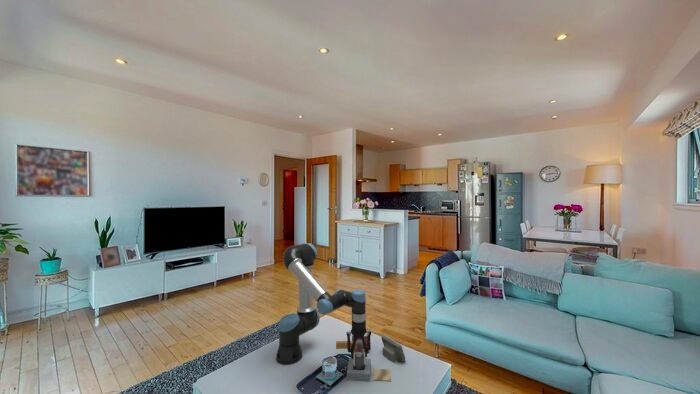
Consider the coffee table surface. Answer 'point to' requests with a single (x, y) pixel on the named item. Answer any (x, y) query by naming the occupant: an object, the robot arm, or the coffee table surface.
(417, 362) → the coffee table surface
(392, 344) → the digital clock
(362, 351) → the puzzle cube
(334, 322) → the coffee table surface
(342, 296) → the robot arm
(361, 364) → the plug
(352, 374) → the socket
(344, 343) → the wooden handle
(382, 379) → the coaster
